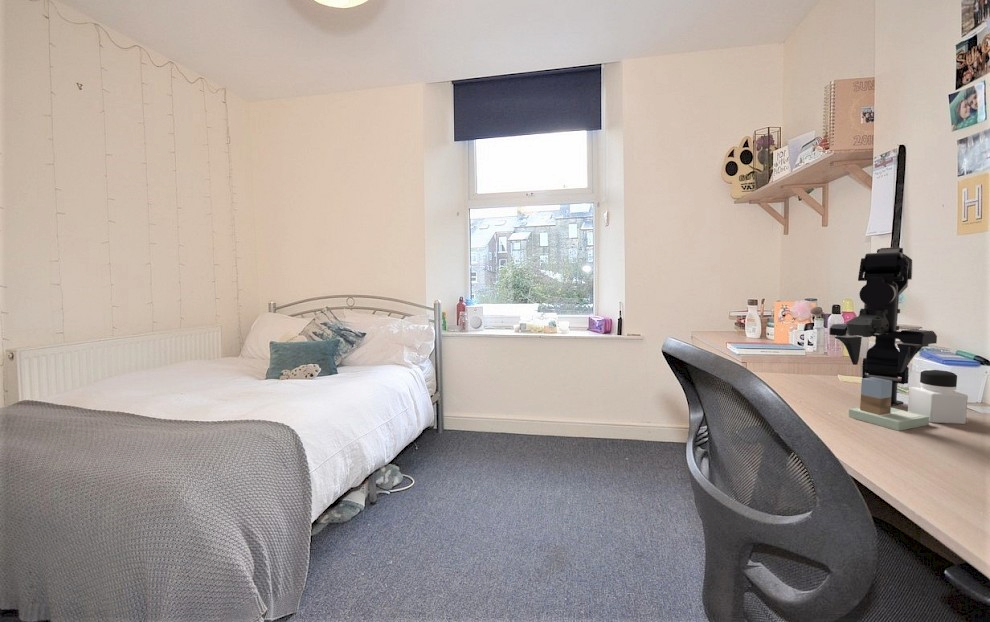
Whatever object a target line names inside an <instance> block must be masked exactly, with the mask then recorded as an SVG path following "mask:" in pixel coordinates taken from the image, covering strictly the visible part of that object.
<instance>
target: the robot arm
mask: <svg viewBox="0 0 990 622" xmlns="http://www.w3.org/2000/svg"><path fill="white" fill-rule="evenodd" d="M912 278H913V259H912V258H910V257H909V256H908V255H906V254H905V253H904V248H903V247H898V246H896V247H895V246H894V247H881V248H878V249H877V250H876V252H874V253H873V252H872V253H871V252H870V253H866V254H864V257H861V259H860V266H859V271H858V277H857V281H858V282H866V284H864V285H863V286H862V287H861V289H860V291H859V293H858V295H859V298H860V301H861V302H862V303H863V304H864V305H863V306H864V307H863V308H860V310H859V313H858V316H856V317H853V318H852V319H850V320H848V321H846V322H845V323H833V324H832V325H831V326H830V327H829V330H828V332H829V334H828V335H830V336H834V338H835V339H837V340H839V341H840V342H841V343H842V344H843V345H844V348H845V349H846V350H847V353H848V356H849V358H850V361H851V362H852V363H851V364H852V365H856V366H857V365H858V363H859V360H860V354H861V353H860V352H861V345H862V340H863V339H862V338H871V337H874V338H875V339H874V340H875V341H874V344H873V345H872V346H871V347H870V348H868V349H867V351H866V356H865V357H863V358H862V366H861V367H862V370H861V371H862V373H861V374H862V375H861V376H862V377H861V380H862V379H863V378H870V377H874V378H879V379H885V380H890V381H892V394H891V407H892V406H897V405H903V404H904V401H902V400H897V399H898V386H899V385H898V384H901V385H906V384H909V376H910V375H909V374H910V373H909V370H910V368H909V366H908V365H909V364H910V362H912V360H913V358H915V356H916V355H917V353H918V352H919V351H921V350H922V348H923V347H929V345H931V344H932V345H933V344H937V341H938V335H937V333H936V332H934V330H927V329H916V328H915V329H904V330H903V329H901V330H900V325H898V316H899V314H901V309H900V308H899V302H900V301H899V300H900V295H902V294H903V292H904V291H906V289H907V288H908V286H909V280H912ZM897 340H899V341H900V342H901V343H897V344H896V342H897Z"/></svg>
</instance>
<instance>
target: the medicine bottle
mask: <svg viewBox="0 0 990 622" xmlns="http://www.w3.org/2000/svg"><path fill="white" fill-rule="evenodd" d="M919 375H920V378H919V385H920V386H909V387H908V400H907V401H908V403H907V411H908V412H912V413H916V414H920V415H925V416H929V423H932V424H933V423H934V424H937V423H938V424H951V425H952V424H957V425H965V424H967V414H968V411H967V410H968V398H969V396H968V394H965V393H962V392H958V391H956V390H957V384H958V383H957V382H958V375H957V374H956V373H954V372H952V371H948V370H943V369H924V370H923V369H922V370H921V371H920V374H919Z"/></svg>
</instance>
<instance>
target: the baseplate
mask: <svg viewBox="0 0 990 622" xmlns="http://www.w3.org/2000/svg"><path fill="white" fill-rule="evenodd" d="M848 417H849V418H852V419H854V420H857V421H858V420H859V421H863V422H865V423H869V424H872V425H876V426H880V427H884V428H888V429H891V430H895V431H898V432H899V431H904V430H909V429H914V428H920V427H924V426H929V423H930V422H929V416H925V415H920V414H916V413H912V412H908V410H907V411H906V410H903V409H899V408H894V407H891V411H890V413H888V414H883V415H877V414H873V413H870V412H866V411H862V410H860V407H853V408H849V409H848Z"/></svg>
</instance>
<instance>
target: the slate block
mask: <svg viewBox="0 0 990 622" xmlns="http://www.w3.org/2000/svg"><path fill="white" fill-rule="evenodd" d="M860 387H861V388H860V396H861V395H866V396H870V397H875V398H879V399H882V398H889V397H891V394H892V381H890V380H885V379H879V378H874V377H870V378H863V379H862V378H861V385H860Z"/></svg>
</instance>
